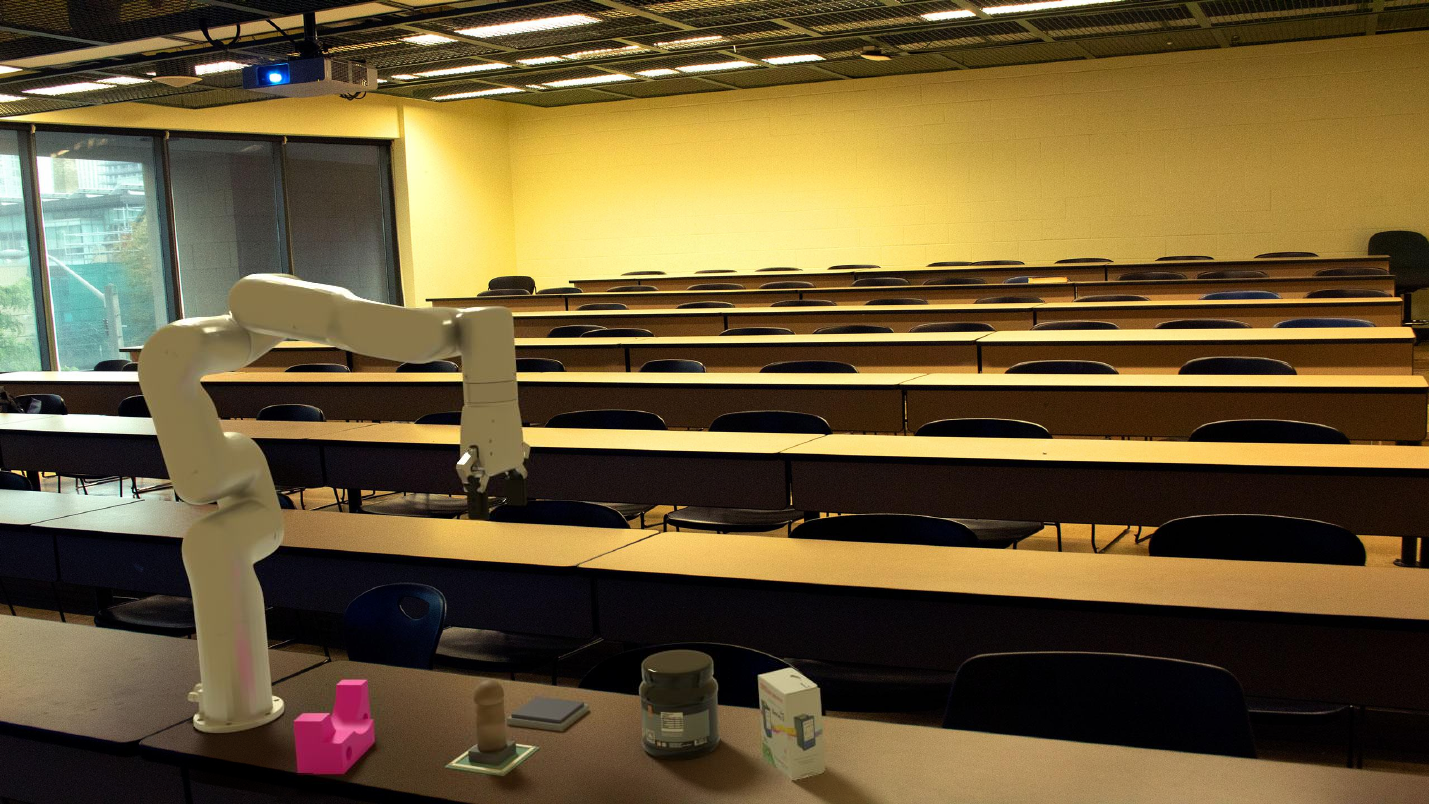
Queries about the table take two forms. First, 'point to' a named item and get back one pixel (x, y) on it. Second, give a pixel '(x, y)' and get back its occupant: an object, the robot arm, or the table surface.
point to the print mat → (500, 770)
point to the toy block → (336, 732)
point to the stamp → (490, 726)
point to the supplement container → (679, 705)
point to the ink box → (791, 723)
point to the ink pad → (548, 713)
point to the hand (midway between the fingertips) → (498, 512)
